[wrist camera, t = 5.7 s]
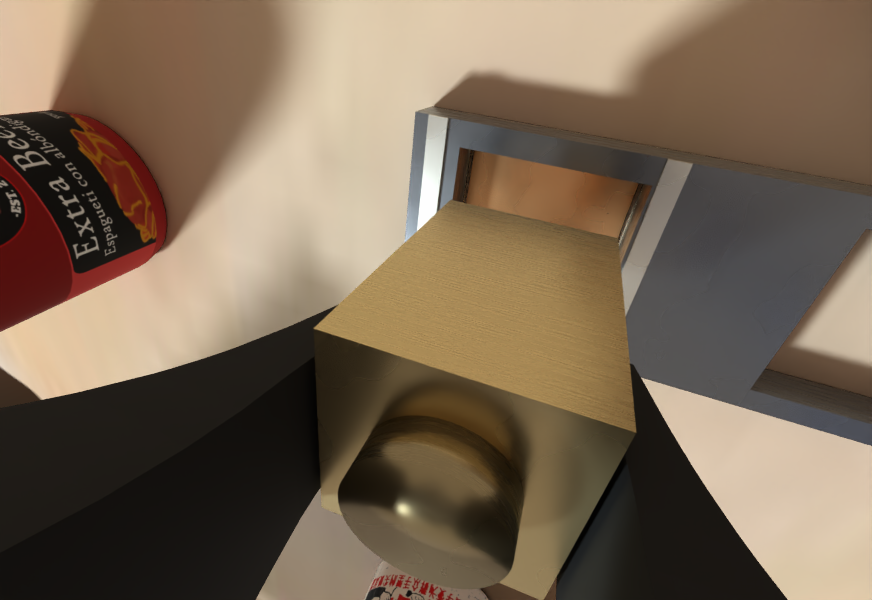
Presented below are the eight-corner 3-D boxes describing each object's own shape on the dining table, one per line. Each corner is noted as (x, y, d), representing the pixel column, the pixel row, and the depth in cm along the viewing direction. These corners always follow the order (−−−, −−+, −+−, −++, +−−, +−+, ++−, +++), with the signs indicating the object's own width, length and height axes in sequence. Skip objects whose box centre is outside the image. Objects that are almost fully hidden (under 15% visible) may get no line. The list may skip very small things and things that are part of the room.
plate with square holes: (965, 445, 13) (1004, 486, 12) (413, 288, 17) (398, 307, 16) (1209, 247, 10) (1304, 277, 8) (432, 106, 14) (414, 112, 12)
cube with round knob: (567, 370, 12) (536, 660, 6) (431, 329, 12) (295, 549, 7) (618, 237, 9) (642, 496, 4) (450, 199, 10) (273, 365, 5)
